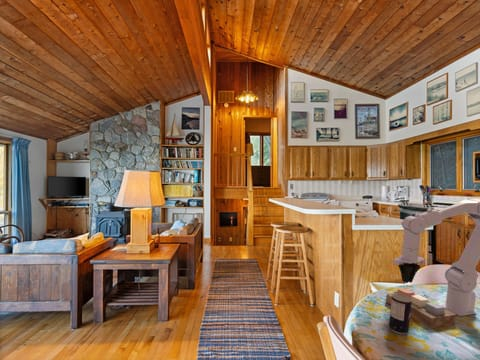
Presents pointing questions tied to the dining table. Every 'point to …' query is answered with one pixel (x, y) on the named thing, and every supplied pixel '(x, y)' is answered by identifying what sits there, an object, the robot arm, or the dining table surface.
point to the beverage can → (400, 312)
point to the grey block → (435, 308)
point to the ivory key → (419, 300)
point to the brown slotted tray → (428, 315)
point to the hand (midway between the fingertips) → (407, 281)
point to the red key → (406, 291)
